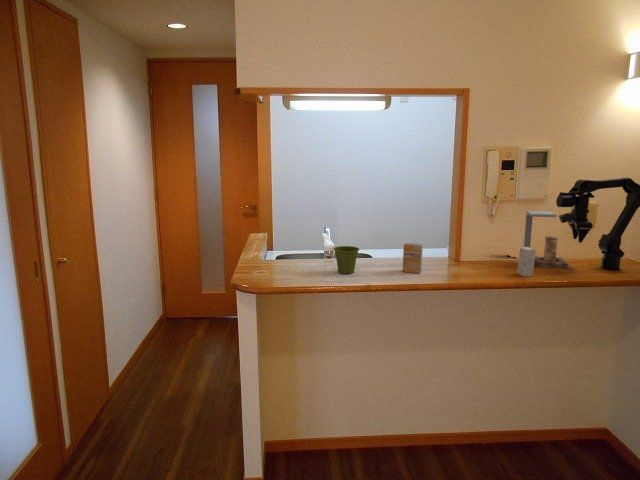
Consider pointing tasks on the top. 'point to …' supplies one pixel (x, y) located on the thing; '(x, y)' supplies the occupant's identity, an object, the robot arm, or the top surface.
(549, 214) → the grey l-shaped rod
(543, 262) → the tan flat wooden frame
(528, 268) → the skincare box
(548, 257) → the peg
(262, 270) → the top surface
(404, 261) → the supplement box
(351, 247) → the plant pot
